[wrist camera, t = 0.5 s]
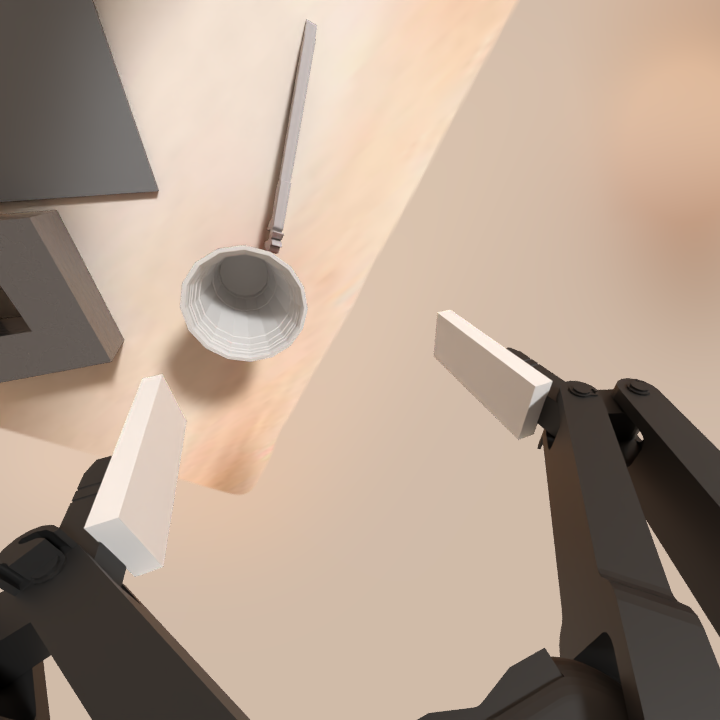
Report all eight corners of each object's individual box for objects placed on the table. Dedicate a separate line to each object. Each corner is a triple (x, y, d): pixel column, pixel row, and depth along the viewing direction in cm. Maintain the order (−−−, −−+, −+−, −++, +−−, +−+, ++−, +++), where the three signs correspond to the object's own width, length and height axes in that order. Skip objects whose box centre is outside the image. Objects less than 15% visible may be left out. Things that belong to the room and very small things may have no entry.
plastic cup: (268, 209, 35) (282, 228, 26) (301, 295, 42) (323, 336, 32) (171, 242, 34) (148, 274, 24) (221, 326, 40) (219, 378, 31)
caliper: (272, 247, 38) (279, 261, 33) (263, 244, 37) (269, 258, 32) (316, 26, 29) (334, -1, 24) (304, 19, 29) (321, -10, 24)
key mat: (-205, -94, 19) (-216, -100, 18) (70, -64, 22) (67, -69, 22) (-18, 202, 28) (-22, 203, 27) (158, 190, 31) (157, 191, 31)
